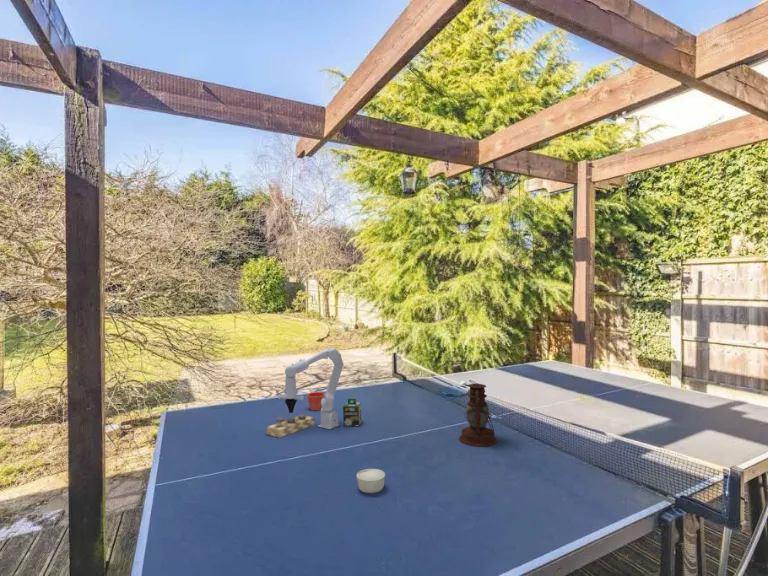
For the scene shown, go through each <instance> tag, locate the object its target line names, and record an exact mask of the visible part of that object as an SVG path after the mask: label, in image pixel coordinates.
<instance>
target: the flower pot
mask: <svg viewBox="0 0 768 576" xmlns="http://www.w3.org/2000/svg"><path fill="white" fill-rule="evenodd" d="M324 395H325V392H319V391H316V392H315V391H314V392H309V393H308V394H307V401H308V407H309V409H311V410H310V411H312V410H318V411H321V410H320V409H322V405H321V399H322V398H323V397H324Z"/></svg>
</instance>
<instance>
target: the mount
mask: <svg viewBox="0 0 768 576" xmlns="http://www.w3.org/2000/svg"><path fill="white" fill-rule="evenodd" d="M294 418H295V422H294V423H287V420H284V421H283V422H282V427H278V422H276V423H275V424H270V425H268V426H267V427H266V435H268V436H271V437H274V438H275V437H276V438H278V439H281V438H283V437H285V436H289V435H291V434H294V433H296V432H299V431H301V430H304V429H307V428H310V427H311V426H314V425H315V423H316V421H315V419H316V418H315V417H313V416H309V415H306V418H305V419H298V416H294Z"/></svg>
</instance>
